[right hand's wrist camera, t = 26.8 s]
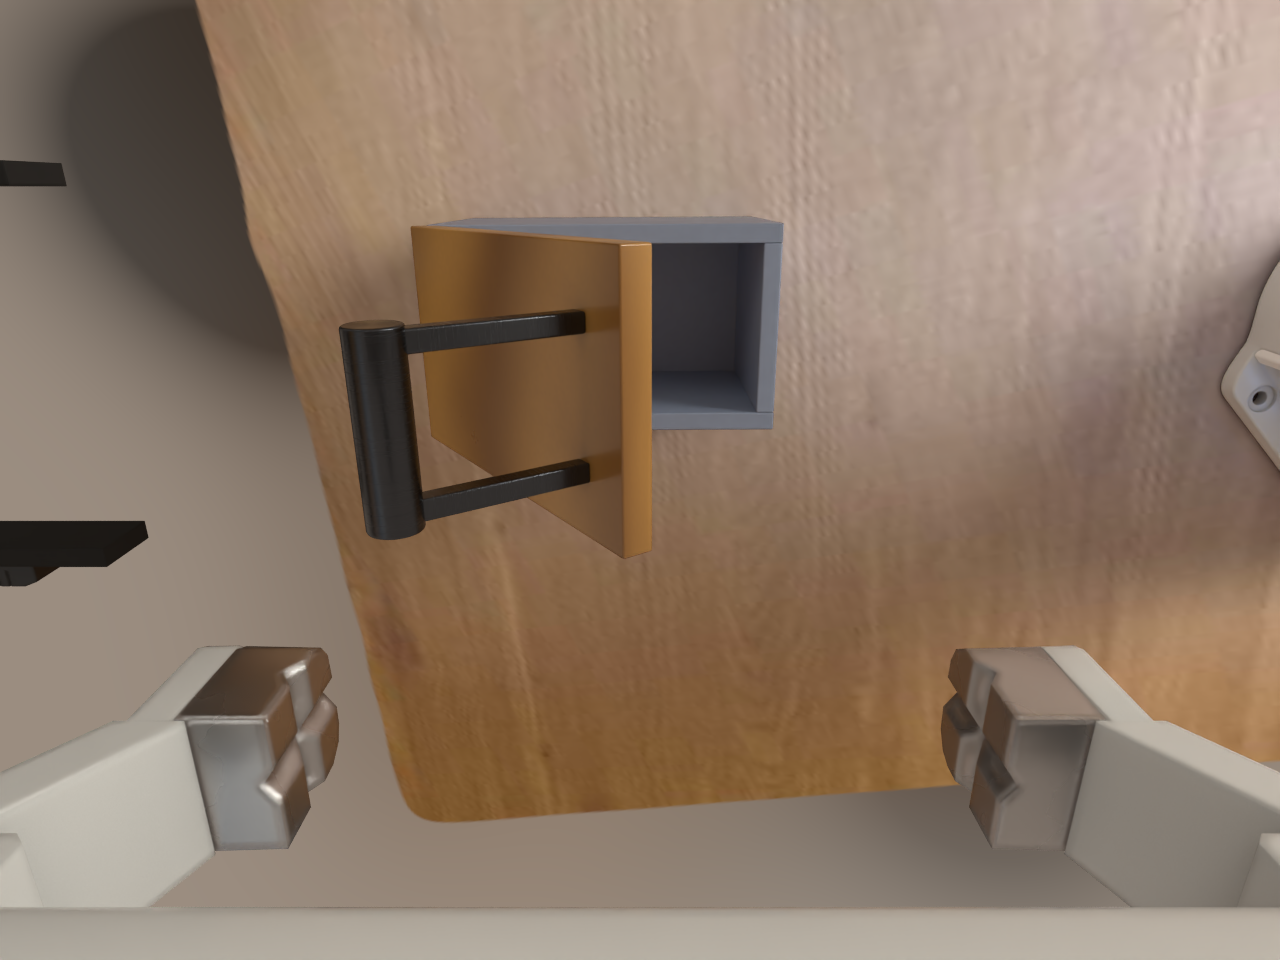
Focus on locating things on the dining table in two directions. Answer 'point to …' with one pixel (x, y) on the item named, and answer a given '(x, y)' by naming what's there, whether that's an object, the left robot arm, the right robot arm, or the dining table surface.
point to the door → (513, 383)
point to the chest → (698, 311)
